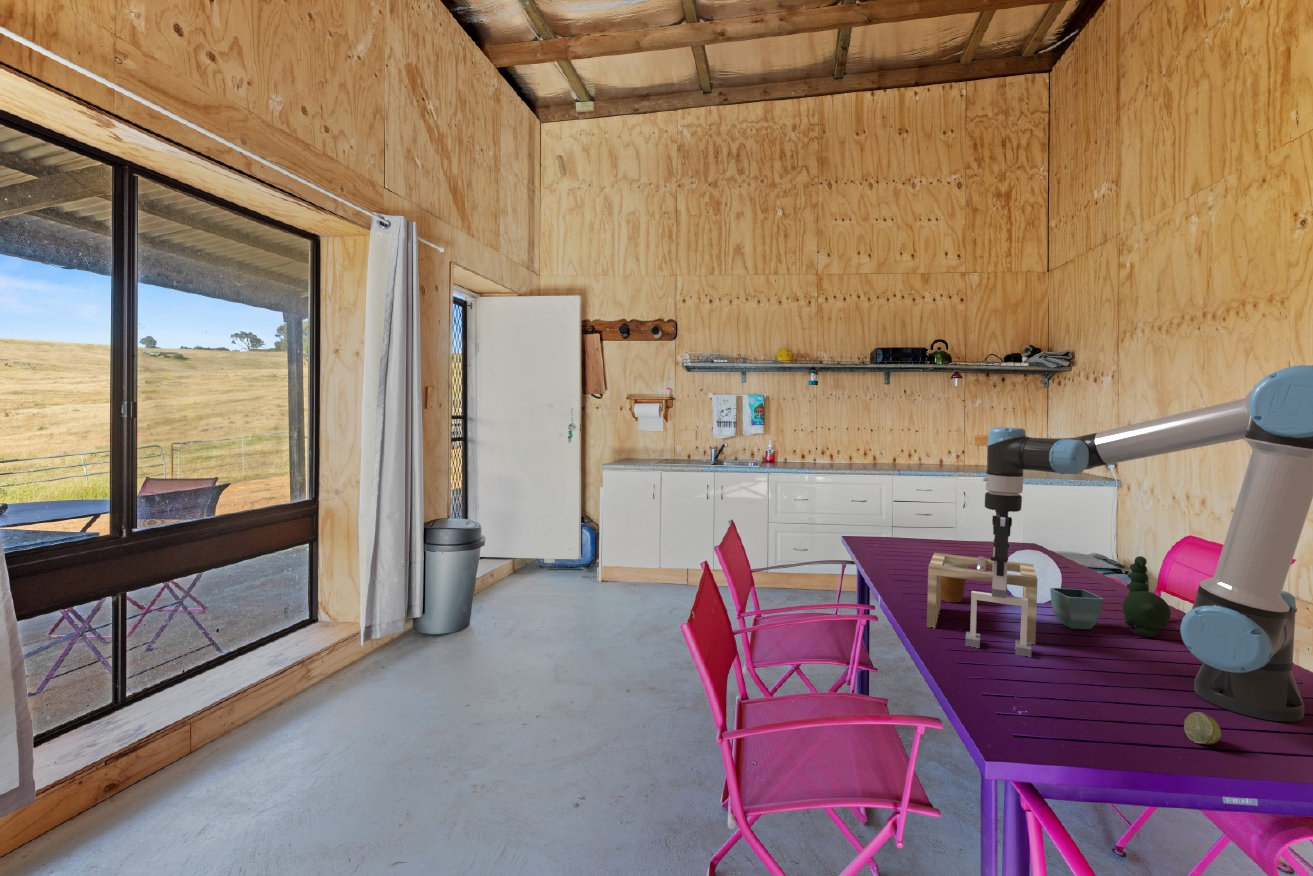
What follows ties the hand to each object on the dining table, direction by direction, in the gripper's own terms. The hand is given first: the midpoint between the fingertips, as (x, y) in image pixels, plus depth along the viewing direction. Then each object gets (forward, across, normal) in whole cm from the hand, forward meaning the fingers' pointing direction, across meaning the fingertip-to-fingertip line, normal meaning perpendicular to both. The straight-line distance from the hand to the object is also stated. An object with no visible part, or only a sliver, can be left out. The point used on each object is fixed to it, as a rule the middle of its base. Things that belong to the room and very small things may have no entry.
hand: (998, 581), depth 141 cm
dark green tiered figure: (+16, -34, +34) cm, 51 cm away
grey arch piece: (+16, 0, 0) cm, 16 cm away
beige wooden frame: (+16, -16, -4) cm, 23 cm away
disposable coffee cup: (+17, -36, -12) cm, 41 cm away
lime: (+15, +29, +30) cm, 45 cm away
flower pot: (+16, -28, +18) cm, 37 cm away
